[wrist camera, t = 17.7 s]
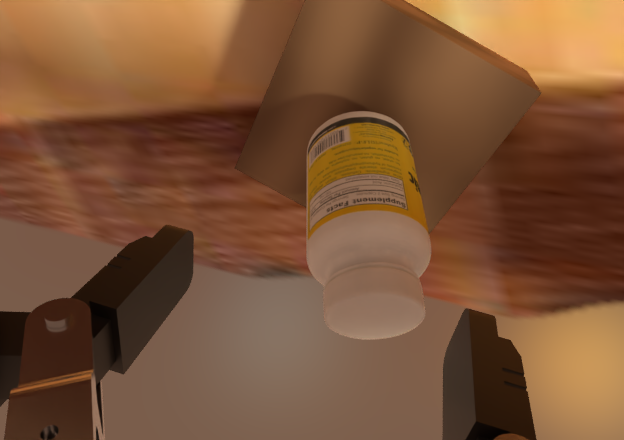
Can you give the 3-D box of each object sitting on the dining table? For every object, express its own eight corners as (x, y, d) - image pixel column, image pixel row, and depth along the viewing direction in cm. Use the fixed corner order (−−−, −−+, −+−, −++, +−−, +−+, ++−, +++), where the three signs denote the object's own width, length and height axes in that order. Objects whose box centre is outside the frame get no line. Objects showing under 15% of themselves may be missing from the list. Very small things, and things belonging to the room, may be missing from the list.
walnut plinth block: (525, 69, 26) (541, 93, 22) (411, 222, 33) (406, 262, 28) (339, -38, 25) (319, -35, 21) (262, 139, 32) (234, 168, 28)
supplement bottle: (397, 186, 26) (421, 349, 20) (303, 179, 26) (299, 345, 20) (423, 110, 22) (464, 289, 16) (311, 102, 22) (310, 281, 16)
